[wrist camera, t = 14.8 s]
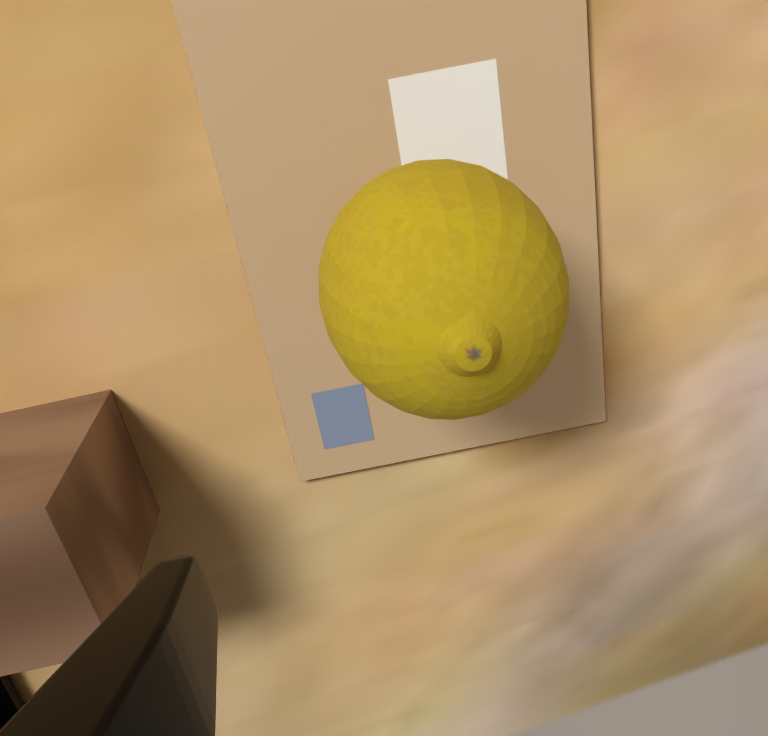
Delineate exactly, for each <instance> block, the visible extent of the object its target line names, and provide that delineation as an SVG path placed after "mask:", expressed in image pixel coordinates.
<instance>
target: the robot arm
mask: <svg viewBox="0 0 768 736" xmlns="http://www.w3.org/2000/svg"><path fill="white" fill-rule="evenodd" d="M217 633H218V622H217V613H216V608H215V605H214V602H213V599H212V596H211V593H210V590H209V588H208V585H207V582H206V579H205V577H204V574H203V571H202V568H201V565H200V563H199V561H198V560H197V558H196V557H194V556H192V555H185V556H180V557H175V558H170V559H165V560H162V561H160V562H159V563H158V564H156V565H155V566H154V567H153V569H152V570H151V571H150V572H149V573H148V574H147V575H146V576H145V577H144V578H143V579H142V580H141V581H140V582H139V583H138V584H137V586H136V587H135V588H134V589H133V590H132V591H131V592H130V593H129V594H128V595H127V596H126V597H125V598H124V599H123V600H122V601H121V603H120V604H119V605H118V606H117V607H116V608H115V609H114V610H113V611H112V612H111V613H110V614H109V615H108V616H107V617H106V618H105V619H104V621H103V622H102V623H101V624H100V625H99V626H98V627H97V628H96V629H95V630H94V631H93V632H92V633H91V634H90V635H89V636H88V638H87V639H86V640H85V641H84V642H83V643H82V644H81V645H80V646H79V647H78V648H77V649H76V650H75V651H74V652H73V653H72V655H71V656H70V657H69V658H68V659H67V660H66V661H65V662H64V663H63V664H62V665H61V666H60V667H59V668H58V669H57V670H56V671H55V673H54V674H53V675H52V676H51V677H50V678H49V679H48V680H47V681H46V682H45V683H44V684H43V685H42V686H41V687H40V688H39V690H38V691H37V692H36V693H35V694H34V695H33V696H32V697H31V698H30V699H29V700H28V701H27V702H26V703H25V704H24V703H23V702H22V700H21V698H20V696H19V694H18V693H17V691H16V689H15V687H14V685H13V684H12V682H11V680H10V678H9V676H8V675H5V676H1V677H0V736H215V720H216V676H217Z"/></svg>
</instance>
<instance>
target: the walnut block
mask: <svg viewBox="0 0 768 736" xmlns="http://www.w3.org/2000/svg"><path fill="white" fill-rule="evenodd" d="M159 511H160V510H159V507H158V505H157V503H156V500H155V498H154V495H153V493H152V490H151V488H150V485H149V483H148V480H147V478H146V475H145V473H144V470H143V468H142V465H141V463H140V460H139V458H138V455H137V453H136V450H135V448H134V445H133V443H132V440H131V438H130V435H129V433H128V430H127V428H126V425H125V423H124V421H123V418H122V416H121V413H120V411H119V408H118V406H117V403H116V401H115V398H114V396H113V393H112V391H111V390H107V391H103V392H98V393H93V394H89V395H84V396H80V397H75V398H70V399H66V400H61V401H56V402H52V403H47V404H42V405H38V406H33V407H29V408H24V409H19V410H15V411H10V412H5V413H1V414H0V677H1V676H5V675H10V674H14V673H19V672H24V671H28V670H33V669H38V668H42V667H47V666H51V665H56V664H61V663H64V662H65V661H66V660H67V659H68V658H69V657H70V656H71V655H72V653H73V652H74V651H75V650H76V649H77V648H78V647H79V646H80V645H81V644H82V643H83V642H84V641H85V640H86V639H87V638H88V636H89V635H90V634H91V633H92V632H93V631H94V630H95V629H96V628H97V627H98V626H99V625H100V624H101V623H102V622H103V621H104V619H105V618H106V617H107V616H108V615H109V614H110V613H111V612H112V611H113V610H114V609H115V608H116V607H117V606H118V605H119V604H120V603H121V601H122V600H123V599H124V598H125V597H126V596H127V595H128V594H129V593H130V592H131V591H132V590H133V589H134V588H135V586H136V583H137V580H138V577H139V574H140V571H141V568H142V564H143V561H144V558H145V555H146V552H147V549H148V545H149V542H150V539H151V536H152V533H153V530H154V527H155V523H156V520H157V517H158V514H159Z"/></svg>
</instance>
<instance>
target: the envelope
mask: <svg viewBox="0 0 768 736" xmlns="http://www.w3.org/2000/svg"><path fill="white" fill-rule="evenodd" d="M171 1H172V4H173V8H174V12H175V15H176V19H177V23H178V27H179V30H180V34H181V38H182V42H183V45H184V49H185V53H186V57H187V60H188V64H189V68H190V72H191V75H192V79H193V83H194V86H195V90H196V94H197V98H198V101H199V105H200V109H201V113H202V116H203V120H204V124H205V128H206V131H207V135H208V139H209V142H210V146H211V150H212V154H213V157H214V161H215V165H216V169H217V172H218V176H219V180H220V184H221V187H222V191H223V195H224V199H225V202H226V206H227V210H228V213H229V217H230V221H231V225H232V228H233V232H234V236H235V240H236V243H237V247H238V251H239V255H240V258H241V262H242V266H243V269H244V273H245V277H246V281H247V284H248V288H249V292H250V296H251V299H252V303H253V307H254V311H255V314H256V318H257V322H258V326H259V329H260V333H261V337H262V340H263V344H264V348H265V352H266V355H267V359H268V363H269V367H270V370H271V374H272V378H273V382H274V385H275V389H276V393H277V396H278V400H279V404H280V408H281V411H282V415H283V419H284V423H285V426H286V430H287V434H288V438H289V441H290V445H291V449H292V453H293V456H294V460H295V464H296V467H297V471H298V475H299V479H300V482H301V481H306V480H311V479H316V478H321V477H326V476H331V475H336V474H341V473H346V472H351V471H356V470H361V469H366V468H371V467H376V466H381V465H387V464H392V463H397V462H402V461H407V460H412V459H417V458H422V457H427V456H432V455H437V454H442V453H447V452H452V451H457V450H462V449H467V448H472V447H477V446H482V445H487V444H493V443H498V442H503V441H508V440H513V439H518V438H523V437H528V436H533V435H538V434H543V433H548V432H553V431H558V430H563V429H568V428H573V427H578V426H583V425H588V424H594V423H599V422H604V421H606V410H605V389H604V368H603V346H602V325H601V304H600V283H599V261H598V240H597V219H596V198H595V177H594V155H593V134H592V113H591V92H590V71H589V49H588V28H587V7H586V0H171ZM437 159H452V160H456V161H461V162H466V163H471V164H475V165H480V166H483V167H485V168H487V169H488V170H490V171H492V172H494V173H496V174H498V175H500V176H502V177H504V178H506V179H507V180H509V181H511V182H513V183H514V184H515V185H516V186H517V187H518V188H519V189H520V190H521V191H522V192H523V193H524V194H525V195H526V196H527V197H528V198H530V199H531V200H532V201H533V202H534V203H535V204H536V205H537V206H538V207H539V209H540V210H541V212H542V214H543V215H544V217H545V219H546V220H547V222H548V224H549V225H550V227H551V229H552V230H553V232H554V234H555V235H556V237H557V239H558V241H559V244H560V247H561V251H562V255H563V258H564V262H565V266H566V270H567V274H568V278H569V314H568V318H567V321H566V325H565V329H564V333H563V336H562V340H561V344H560V346H559V348H558V350H557V352H556V354H555V355H554V357H553V359H552V361H551V363H550V364H549V366H548V368H547V369H546V370H545V372H544V373H543V374H542V375H541V376H540V377H539V378H538V379H537V380H536V381H535V383H534V384H533V385H532V386H531V387H530V388H529V389H528V390H526V391H525V392H524V393H522V394H521V395H519V396H518V397H517V398H515V399H514V400H512V401H511V402H510V403H508V404H507V405H505V406H502V407H500V408H498V409H495V410H493V411H490V412H488V413H486V414H483V415H479V416H474V417H468V418H463V419H457V420H447V419H428V418H424V417H421V416H417V415H413V414H410V413H406V412H403V411H401V410H399V409H397V408H395V407H393V406H392V405H390V404H388V403H386V402H384V401H383V400H381V399H379V398H377V397H376V396H375V395H373V394H372V393H371V392H370V391H369V390H368V389H367V388H366V387H365V386H364V385H363V384H362V383H361V382H360V381H359V380H358V379H356V378H355V377H354V376H353V375H352V374H351V372H350V371H349V370H348V369H347V367H346V365H345V364H344V362H343V361H342V359H341V357H340V356H339V354H338V352H337V351H336V349H335V347H334V346H333V344H332V342H331V341H330V339H329V336H328V333H327V330H326V326H325V323H324V319H323V316H322V312H321V309H320V304H319V264H320V260H321V256H322V252H323V248H324V244H325V240H326V237H327V234H328V232H329V231H330V229H331V227H332V225H333V223H334V222H335V220H336V218H337V216H338V215H339V213H340V211H341V209H342V208H343V207H344V206H345V205H346V204H347V202H348V201H349V200H350V199H351V198H352V197H353V196H354V195H355V194H356V193H357V192H358V191H359V190H360V189H361V188H362V187H363V186H364V185H365V184H367V183H368V182H370V181H372V180H373V179H375V178H376V177H378V176H379V175H381V174H383V173H384V172H386V171H387V170H389V169H392V168H396V167H399V166H402V165H405V164H408V163H411V162H414V161H418V160H437Z"/></svg>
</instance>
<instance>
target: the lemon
mask: <svg viewBox="0 0 768 736" xmlns="http://www.w3.org/2000/svg"><path fill="white" fill-rule="evenodd" d="M319 304H320V309H321V312H322V316H323V319H324V323H325V326H326V330H327V333H328V336H329V339H330V341H331V342H332V344H333V346H334V347H335V349H336V351H337V352H338V354H339V356H340V357H341V359H342V361H343V362H344V364H345V365H346V367H347V369H348V370H349V371H350V372H351V374H352V375H353V376H354V377H355V378H356V379H358V380H359V381H360V382H361V383H362V384H363V385H364V386H365V387H366V388H367V389H368V390H369V391H370V392H371V393H372V394H373V395H375V396H376V397H377V398H379V399H381V400H383V401H384V402H386V403H388V404H390V405H392V406H393V407H395V408H397V409H399V410H401V411H403V412H406V413H410V414H413V415H417V416H421V417H424V418H428V419H447V420H457V419H463V418H468V417H474V416H479V415H483V414H486V413H488V412H490V411H493V410H495V409H498V408H500V407H502V406H505V405H507V404H508V403H510V402H511V401H512V400H514V399H515V398H517V397H518V396H519V395H521V394H522V393H524V392H525V391H526V390H528V389H529V388H530V387H531V386H532V385H533V384H534V383H535V381H536V380H537V379H538V378H539V377H540V376H541V375H542V374H543V373H544V372H545V370H546V369H547V368H548V366H549V364H550V363H551V361H552V359H553V357H554V355H555V354H556V352H557V350H558V348H559V346H560V344H561V340H562V336H563V333H564V329H565V325H566V321H567V318H568V314H569V278H568V274H567V270H566V266H565V262H564V258H563V255H562V251H561V247H560V244H559V241H558V239H557V237H556V235H555V234H554V232H553V230H552V229H551V227H550V225H549V224H548V222H547V220H546V219H545V217H544V215H543V214H542V212H541V210H540V209H539V207H538V206H537V205H536V204H535V203H534V202H533V201H532V200H531V199H530V198H528V197H527V196H526V195H525V194H524V193H523V192H522V191H521V190H520V189H519V188H518V187H517V186H516V185H515V184H514V183H513V182H511V181H509V180H507V179H506V178H504V177H502V176H500V175H498V174H496V173H494V172H492V171H490V170H488V169H487V168H485V167H483V166H480V165H475V164H471V163H466V162H461V161H456V160H452V159H437V160H418V161H414V162H411V163H408V164H405V165H402V166H399V167H396V168H392V169H389V170H387V171H386V172H384V173H383V174H381V175H379V176H378V177H376V178H375V179H373V180H372V181H370V182H368V183H367V184H365V185H364V186H363V187H362V188H361V189H360V190H359V191H358V192H357V193H356V194H355V195H354V196H353V197H352V198H351V199H350V200H349V201H348V202H347V204H346V205H345V206H344V207H343V208H342V209H341V211H340V213H339V215H338V216H337V218H336V220H335V222H334V223H333V225H332V227H331V229H330V231H329V232H328V234H327V237H326V240H325V244H324V248H323V252H322V256H321V260H320V264H319Z"/></svg>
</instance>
